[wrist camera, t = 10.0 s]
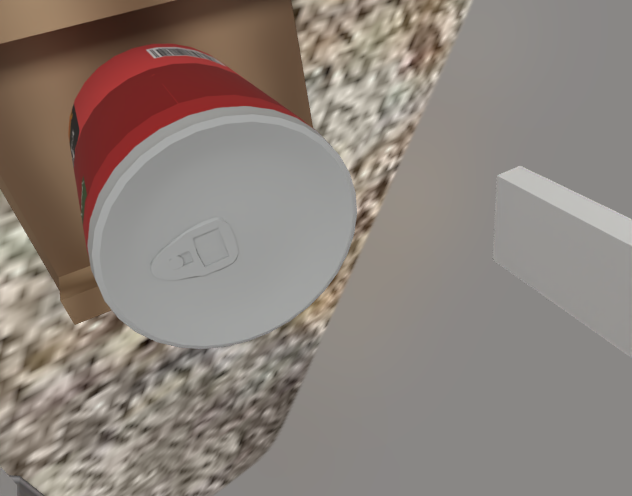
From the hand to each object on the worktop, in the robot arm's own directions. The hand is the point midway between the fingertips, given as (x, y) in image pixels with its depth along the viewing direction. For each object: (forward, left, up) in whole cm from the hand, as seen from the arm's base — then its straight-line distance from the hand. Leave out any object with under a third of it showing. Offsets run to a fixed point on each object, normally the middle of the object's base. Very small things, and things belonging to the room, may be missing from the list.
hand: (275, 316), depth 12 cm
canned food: (0, 0, -15) cm, 15 cm away
